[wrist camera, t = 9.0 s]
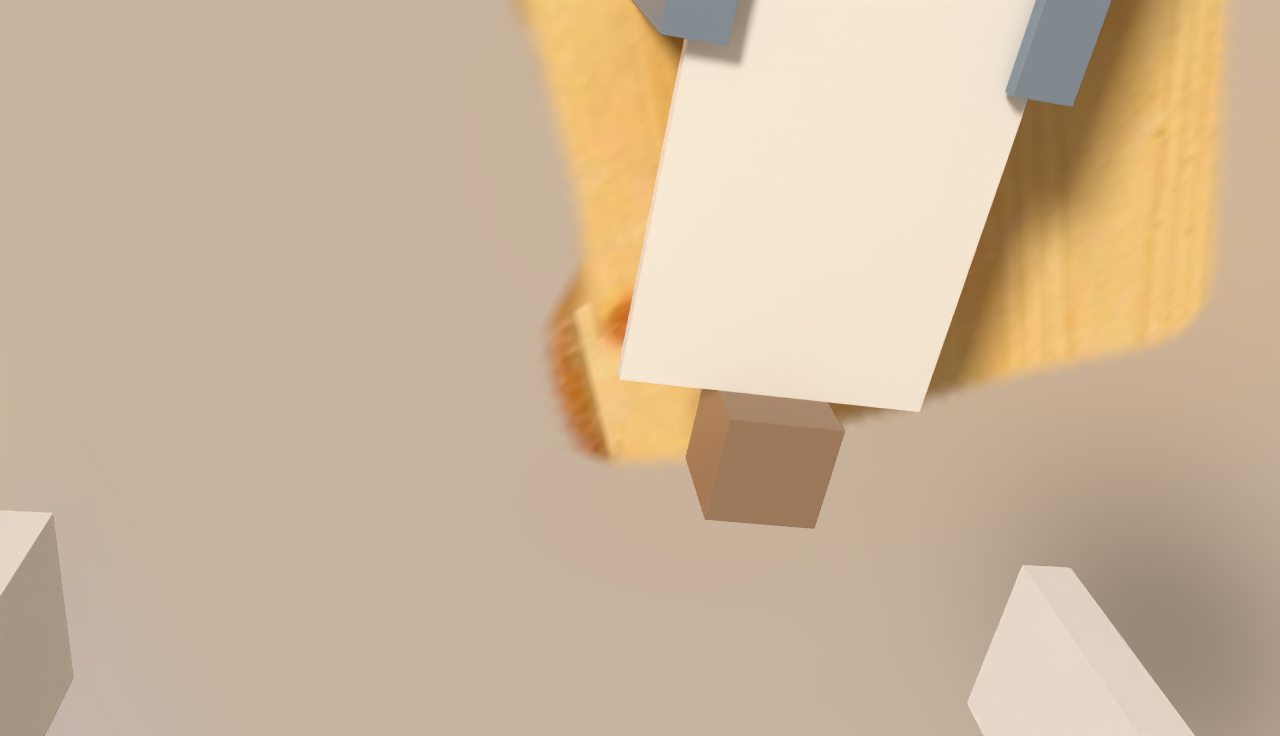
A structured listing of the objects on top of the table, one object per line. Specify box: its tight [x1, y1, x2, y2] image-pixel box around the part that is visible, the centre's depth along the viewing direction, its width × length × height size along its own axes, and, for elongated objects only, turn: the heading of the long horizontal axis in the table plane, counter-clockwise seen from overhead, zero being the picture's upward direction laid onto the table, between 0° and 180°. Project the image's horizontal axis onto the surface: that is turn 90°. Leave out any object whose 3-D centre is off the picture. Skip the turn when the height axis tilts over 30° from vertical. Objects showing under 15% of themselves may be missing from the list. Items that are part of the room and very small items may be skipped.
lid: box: [618, 0, 1036, 528], centre depth 34 cm, size 20×11×4 cm, turn 169°
